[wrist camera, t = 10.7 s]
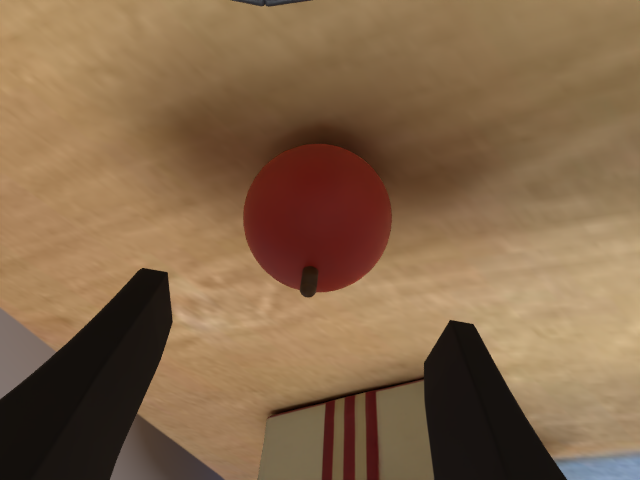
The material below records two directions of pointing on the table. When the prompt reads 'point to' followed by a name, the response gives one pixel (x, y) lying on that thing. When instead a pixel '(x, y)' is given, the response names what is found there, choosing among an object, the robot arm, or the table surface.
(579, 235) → the table surface
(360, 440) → the gift box
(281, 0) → the pan
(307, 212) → the apple
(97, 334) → the robot arm
